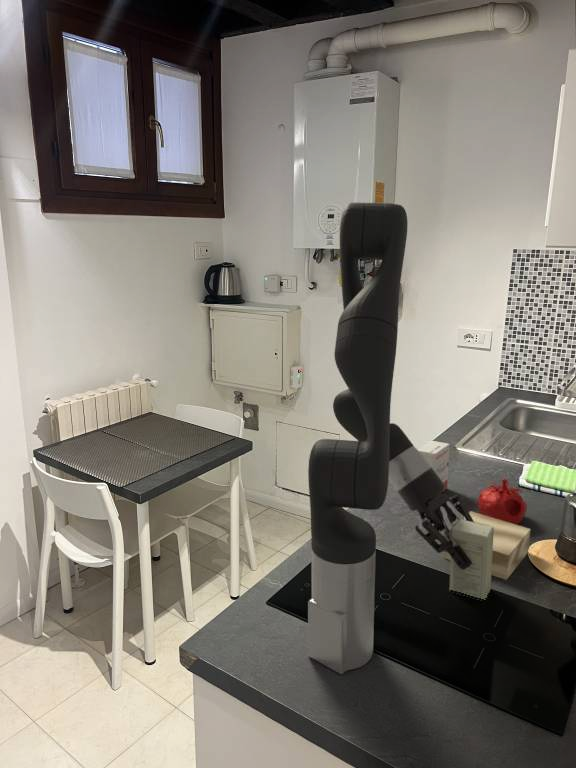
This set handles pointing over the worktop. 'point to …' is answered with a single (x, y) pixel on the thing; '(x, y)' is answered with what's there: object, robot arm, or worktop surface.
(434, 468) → the ink box
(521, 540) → the birch block
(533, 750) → the worktop surface
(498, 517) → the pomegranate
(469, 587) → the skincare box
